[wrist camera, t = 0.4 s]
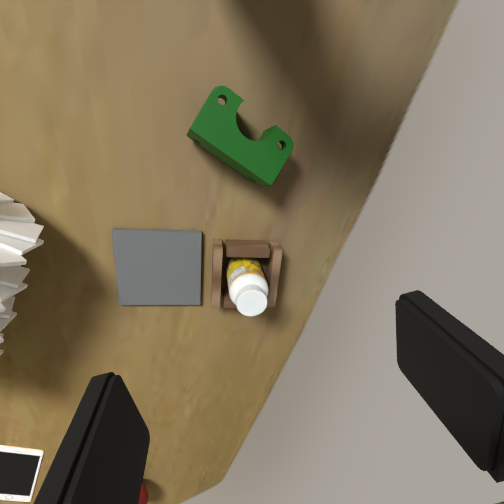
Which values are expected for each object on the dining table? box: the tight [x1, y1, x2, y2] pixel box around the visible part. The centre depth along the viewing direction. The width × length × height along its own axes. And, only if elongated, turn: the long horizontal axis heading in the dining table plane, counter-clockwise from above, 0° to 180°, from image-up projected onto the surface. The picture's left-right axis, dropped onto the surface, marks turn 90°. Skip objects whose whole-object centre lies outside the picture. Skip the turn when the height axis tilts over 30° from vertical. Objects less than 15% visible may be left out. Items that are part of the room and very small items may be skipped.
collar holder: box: [211, 239, 283, 308], centre depth 46 cm, size 10×10×4 cm
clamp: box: [187, 86, 293, 186], centre depth 37 cm, size 12×6×9 cm, turn 49°
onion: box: [139, 483, 148, 504], centre depth 61 cm, size 6×6×8 cm
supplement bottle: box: [226, 257, 268, 316], centre depth 43 cm, size 5×5×10 cm
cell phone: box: [0, 445, 44, 502], centre depth 59 cm, size 8×16×1 cm, turn 157°
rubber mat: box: [112, 228, 202, 305], centre depth 45 cm, size 12×12×1 cm
